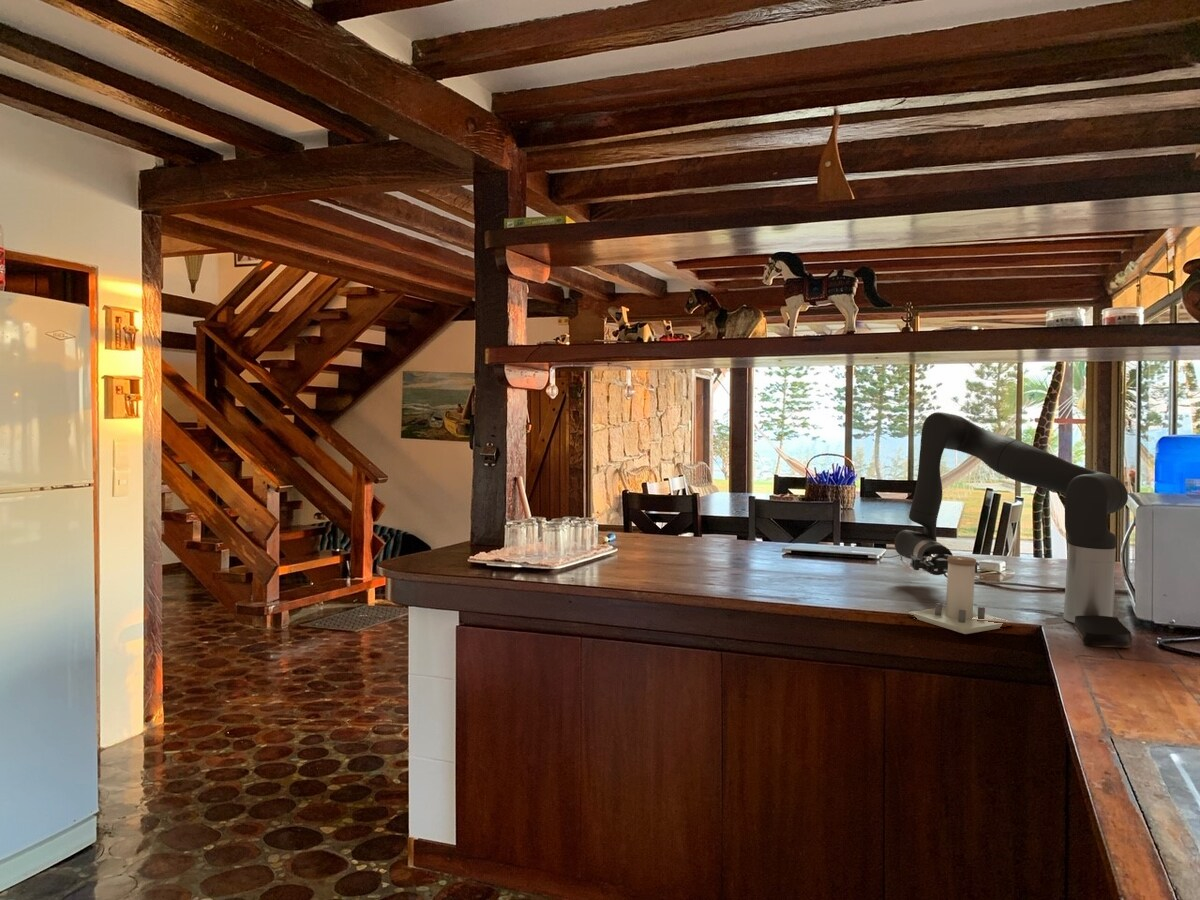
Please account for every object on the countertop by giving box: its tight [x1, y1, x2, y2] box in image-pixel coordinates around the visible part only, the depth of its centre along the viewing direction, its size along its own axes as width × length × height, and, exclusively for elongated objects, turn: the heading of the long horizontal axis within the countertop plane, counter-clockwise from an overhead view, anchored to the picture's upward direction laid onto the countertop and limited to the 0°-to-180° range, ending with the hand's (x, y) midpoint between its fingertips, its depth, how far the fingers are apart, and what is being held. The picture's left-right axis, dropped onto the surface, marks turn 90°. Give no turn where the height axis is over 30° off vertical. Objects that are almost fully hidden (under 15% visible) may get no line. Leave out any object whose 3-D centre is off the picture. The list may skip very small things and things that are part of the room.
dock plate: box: [907, 602, 1012, 635], centre depth 183 cm, size 15×15×4 cm
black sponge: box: [1073, 616, 1132, 648], centre depth 172 cm, size 16×8×4 cm, turn 158°
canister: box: [945, 555, 977, 620], centre depth 183 cm, size 6×6×13 cm
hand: (952, 570), depth 189 cm, fingers open, 8 cm apart
